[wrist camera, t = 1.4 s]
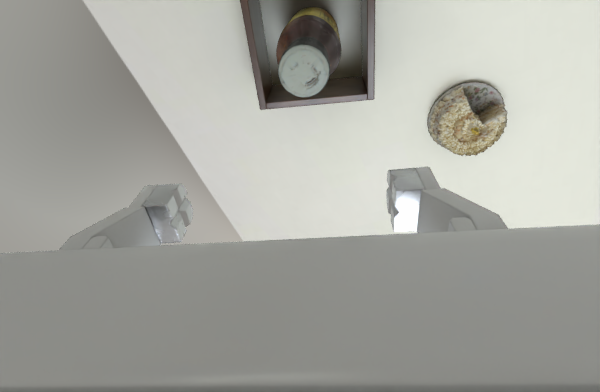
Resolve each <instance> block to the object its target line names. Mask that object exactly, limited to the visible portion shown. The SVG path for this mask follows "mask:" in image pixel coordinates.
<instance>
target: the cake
mask: <svg viewBox="0 0 600 392" xmlns="http://www.w3.org/2000/svg"><path fill="white" fill-rule="evenodd" d="M504 106H505V105H504V103H503V98H502V97H501V95H500V93H499V92H497V90H496V89H495V88H493V87H492V86H490V85H487V84H485V83H479V82H476V83H474V82H470V83H464V84H461V85H458V86H456V87H454V88H451V89H450V90H449V91H447V92H445V93H444V94H443V95H442V96H441V97H440V98H439V99H438V100H437V101H436V102H435V103H434V106H433V107H432V109H431V112H430V114H429V117H428V128H429V130H428V131H429V133H430V135H431V137H432V138H433V140H434V141H436V142H437V144H440V145H441V146H442V147H445V148H447V149H448V150H450V151H451V152H453V153H454V154H458V155H461V156H462V155H464V154H465V155H466V156H467V155H468V156H471V155H475V156H476V155H477V154H478V153H480V152H484V151H485V150H486V149H488V148H487V147H491V146H492V145H493V144H494V142H495V141H498V139H499V138H500V136H501V134H502V133H504V131H503V130H504V128H505V127H506V123H507V111H506V110H505V108H504Z"/></svg>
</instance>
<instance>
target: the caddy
mask: <svg viewBox="0 0 600 392" xmlns="http://www.w3.org/2000/svg"><path fill="white" fill-rule="evenodd" d="M240 3H241V8H242V14H243V19H244V24H245V30H246V35H247V41H248V46H249V51H250V57H251V62H252V68H253V73H254V79H255V84H256V89H257V95H258V100H259V106H260V110H263V109H274V108H285V107H296V106H307V105H318V104H329V103H340V102H351V101H362V100H373V99H374V71H375V0H361V37H362V76H359V77H349V78H339V79H329V80H328V82H327V84H326V85H325V87H324V88H323V89H322V90H321V91H320V92H319V93H318V94H316V95H313V96H310V97H304V98H303V97H297V96H295V95H293V94H291V93H290V92H288V91H287V90H286V89H285V88H284V87H283V85H282V84H278V85H272V79H271V73H270V66H269V60H268V53H267V47H266V41H265V34H264V28H263V22H262V15H261V9H260V3H259V0H240Z"/></svg>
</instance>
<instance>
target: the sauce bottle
mask: <svg viewBox="0 0 600 392" xmlns="http://www.w3.org/2000/svg"><path fill="white" fill-rule="evenodd" d="M276 52H277V53H276V55H277V61H278V65H279V66H278V74H279V78H280V81H281V84H282V85H283V87H284V88H285V89H286V90H287V91H288V92H290V93H291V94H293V95H295V96H297V97H303V98H304V97H310V96H313V95H316V94H318V93H319V92H320V91H321V90H322V89H323V88H324V87H325V85H326V84H327V82H328V79H329V75H331V74H332V73H333V72H334V71H335V69H336V68H337V66H338V64H339V61H340V57H341V44H340V38H339V33H338V28H337V25H336V22H335V20H334V18H333V17H332V16H331V15H330V14H329V13H328V12H327V11H325V10H323V9H321V8H318V7H308V8H304V9H302V10H300V11H298V12H297V13H296V14H295V15H294V16H293V18H292V19H291V20H290V21H289V23H288V24H287V25H286V27H285V28H284V30H283V31H282V33H281V36H280V38H279V41H278V45H277V51H276Z"/></svg>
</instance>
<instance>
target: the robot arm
mask: <svg viewBox="0 0 600 392" xmlns="http://www.w3.org/2000/svg"><path fill="white" fill-rule="evenodd" d="M387 182H388V185H389V188H388V189H387V208H388V212H389V214H391V223H392V227H393V230H394V232H397V231H417V232H418V233H410V234H389V235H368V236H348V237H327V238H306V239H286V240H265V241H244V242H223V243H203V244H182V245H161V243H174V242H181V241H182V239H183V237H184V235H185V233H186V228H185V227H186V226H188V225H189V224H190V223H191V221H192V218H193V208H192V205H191V202H190V201H189V200H188V199H187V198H185V197H186V195H187V190H186V188H185V186H184V185H183V184H166V185H148V186H145V187H144V188H143V189H142V191H141V192H140V193H139V194H138V196H137V197H136V198H135V200H134V201H133V202H132V203H131V205H130V206H129V207H128V208H123V209H122V210H120V211H118V212H116V213H114V214H112V215H110V216H108V217H107V218H105V219H103V220H101V221H99V222H97V223H95V224H93V225H92V226H90V227H88V228H86V229H84V230H82V231H80V232H79V233H77V234H75V235H73V236H71V237H70V238H69V239H68V240H67V241H66V242H65V244H64V245H63V246H62V247H61V248H60V249H59V250H57V251H36V252H16V253H0V392H600V224H597V225H577V226H556V227H534V228H514V229H508V228H507V226H506V225H505V223H504V222H503V220H502V219H501V218H500V216H499V215H498V214H496V213H494V212H492V211H490V210H488V209H486V208H484V207H482V206H479V205H477V204H475V203H473V202H471V201H469V200H467V199H465V198H463V197H461V196H459V195H457V194H455V193H453V192H451V191H449V190H447V189H441V188H440V186H439V184H438V182H437V181H436V179H435V177H434V175H433V173H432V171H431V169H430V167H419V168H408V169H397V170H388V173H387ZM160 245H161V246H160Z"/></svg>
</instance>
